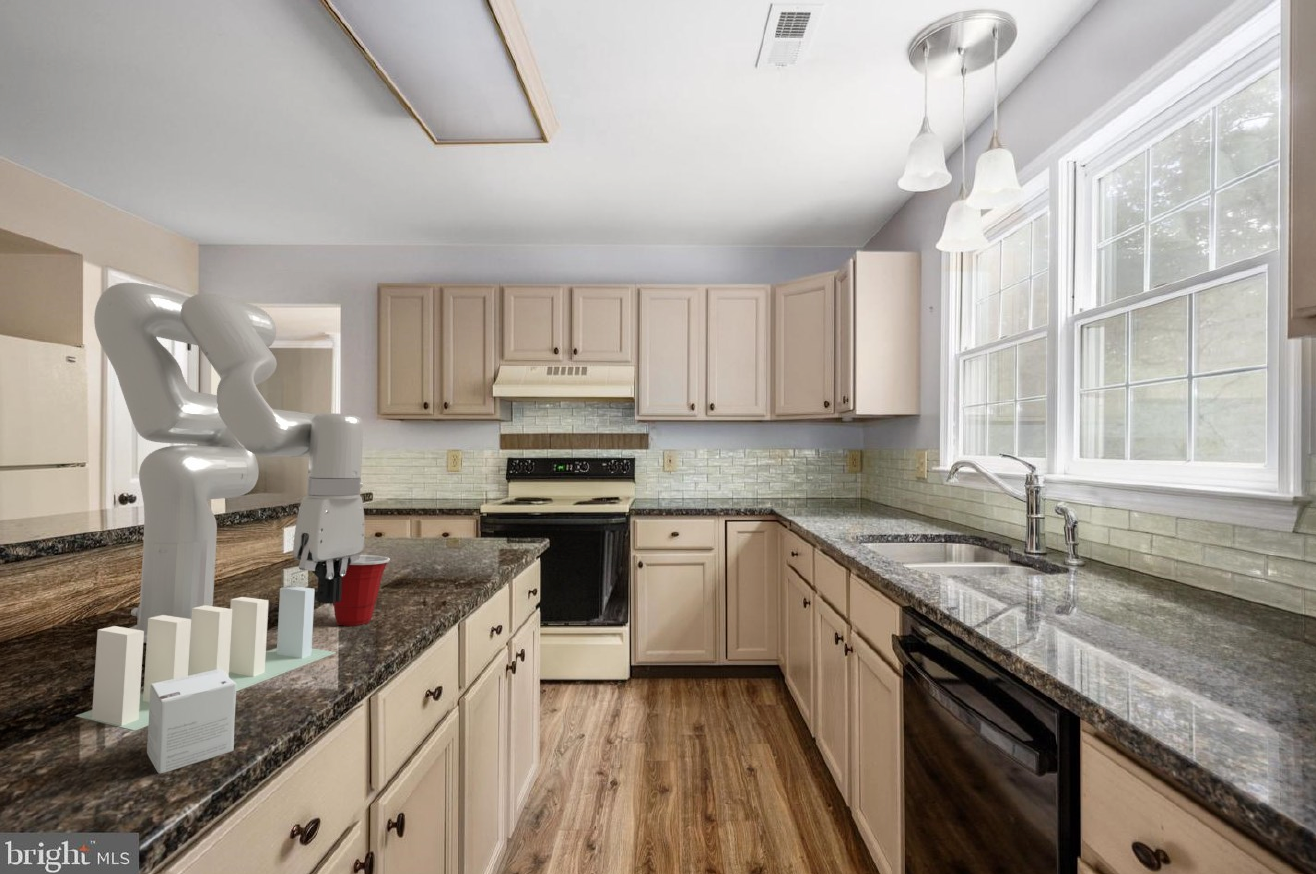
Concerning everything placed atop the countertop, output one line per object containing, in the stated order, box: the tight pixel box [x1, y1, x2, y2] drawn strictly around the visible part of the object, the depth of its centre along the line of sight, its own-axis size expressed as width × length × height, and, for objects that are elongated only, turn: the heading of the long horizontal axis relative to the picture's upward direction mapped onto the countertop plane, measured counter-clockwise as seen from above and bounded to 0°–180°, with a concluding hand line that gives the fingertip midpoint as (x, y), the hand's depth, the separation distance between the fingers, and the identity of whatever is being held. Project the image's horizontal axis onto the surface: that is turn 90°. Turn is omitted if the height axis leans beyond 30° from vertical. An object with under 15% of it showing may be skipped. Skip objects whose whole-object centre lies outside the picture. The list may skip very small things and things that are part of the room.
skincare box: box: [146, 669, 237, 775], centre depth 58 cm, size 6×6×7 cm
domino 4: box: [229, 596, 270, 677], centre depth 78 cm, size 5×2×10 cm, turn 73°
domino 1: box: [91, 625, 144, 726], centre depth 64 cm, size 5×2×10 cm, turn 73°
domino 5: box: [276, 585, 316, 658], centre depth 86 cm, size 5×2×10 cm, turn 73°
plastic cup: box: [332, 554, 391, 627], centre depth 104 cm, size 11×11×12 cm
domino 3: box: [188, 605, 232, 677], centre depth 74 cm, size 5×2×10 cm, turn 73°
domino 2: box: [143, 615, 191, 702], centre depth 69 cm, size 5×2×10 cm, turn 73°
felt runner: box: [75, 647, 337, 732], centre depth 76 cm, size 10×26×1 cm, turn 163°
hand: (329, 601), depth 91 cm, fingers closed
